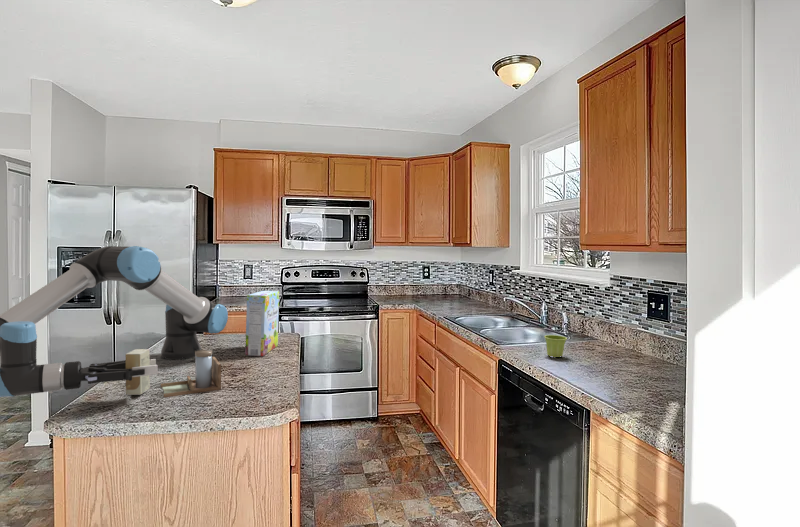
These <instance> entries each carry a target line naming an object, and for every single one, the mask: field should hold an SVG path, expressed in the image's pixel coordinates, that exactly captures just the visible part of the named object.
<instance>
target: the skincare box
mask: <svg viewBox="0 0 800 527" xmlns="http://www.w3.org/2000/svg"><path fill="white" fill-rule="evenodd" d="M125 360H126V369H132V367H141V366H150V364H149V360H150V349H148V348H143V349H142V348H141V349H140V348H135V349H133V350H131V351H128V352H127V353H125ZM150 376H151V375H148V376H139V377H132V380H131V381H129V380H125V395H127V396H128V395H129V396H131V395H132V396H133V395H139V396H140V395H142V394H144V393H145V392H146V391H148V390H149V389H150V388H151V386H150V384H151V383H150V382H151V381H150Z"/></svg>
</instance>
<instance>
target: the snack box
mask: <svg viewBox="0 0 800 527" xmlns="http://www.w3.org/2000/svg"><path fill="white" fill-rule="evenodd" d="M279 309H280V291H278V290H261V291H257V292H253V293H250V294H247V295H246V313H245V314H246V316H245V317H246V321H245V322H246V323H245V324H246V325H245V348H244V349H245V350H244V352H245V353H244V355H245V356H249V357H250V356H251V357H264V356H266V355H268V353H270V352H271V351H272V350H275V348H276V347H278V344H279V315H280V314H279Z"/></svg>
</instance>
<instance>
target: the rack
mask: <svg viewBox="0 0 800 527" xmlns="http://www.w3.org/2000/svg"><path fill="white" fill-rule="evenodd" d="M186 379H187V380H183V381H173V382H164V383H160V388H162V389H163V398H170V397H178V396H183V395H184V396H185V395H190V394H198V393H199V394H200V393H205V392H206V393H207V392H212V391H213V392H214V391H220V390H222V364H221V363H220V361H219V360H218V359H217V358H216V357H215V356H212V386H211V387H208V388H196V387H195V379H191V376H190V375H187V378H186Z"/></svg>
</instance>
